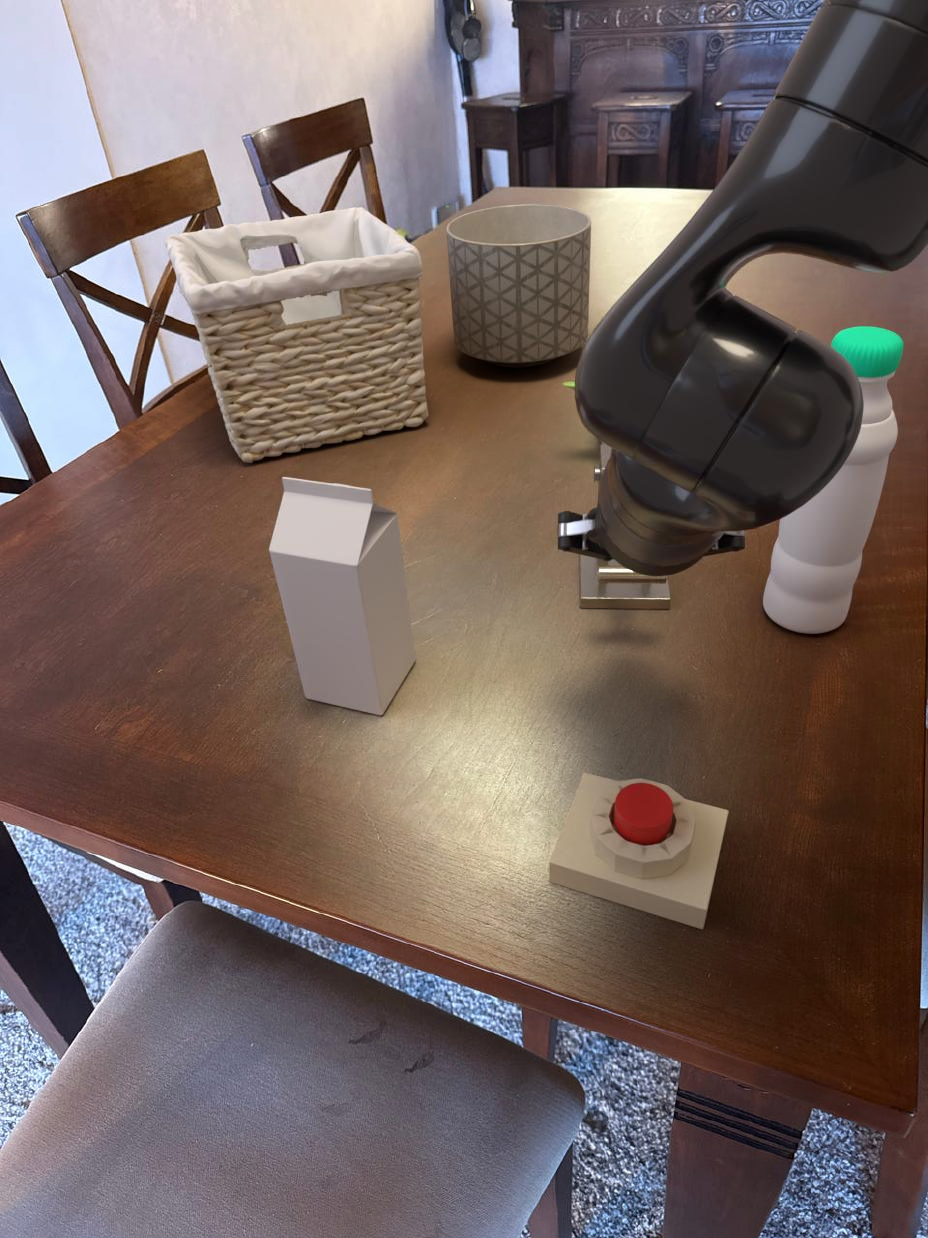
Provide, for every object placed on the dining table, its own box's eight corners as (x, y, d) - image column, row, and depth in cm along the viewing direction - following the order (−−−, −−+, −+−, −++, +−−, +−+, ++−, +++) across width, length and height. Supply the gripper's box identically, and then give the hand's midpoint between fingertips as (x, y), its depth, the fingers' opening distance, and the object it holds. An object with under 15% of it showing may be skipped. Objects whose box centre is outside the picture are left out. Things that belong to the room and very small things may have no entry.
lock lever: (664, 589, 71) (668, 575, 69) (597, 588, 72) (598, 574, 70) (659, 469, 77) (662, 452, 74) (596, 469, 77) (597, 453, 75)
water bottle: (862, 616, 75) (946, 335, 60) (809, 648, 73) (882, 362, 57) (797, 578, 80) (858, 309, 64) (744, 608, 77) (795, 333, 62)
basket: (202, 388, 123) (159, 226, 109) (383, 353, 129) (364, 195, 115) (229, 474, 102) (180, 288, 89) (442, 427, 109) (427, 246, 95)
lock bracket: (669, 609, 78) (683, 485, 70) (580, 608, 79) (584, 486, 71) (660, 546, 86) (672, 428, 77) (579, 546, 86) (582, 429, 78)
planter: (470, 392, 116) (462, 251, 105) (444, 341, 131) (434, 213, 119) (605, 372, 118) (611, 232, 107) (564, 325, 133) (566, 197, 122)
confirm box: (548, 882, 57) (548, 845, 54) (583, 792, 62) (584, 754, 60) (703, 930, 53) (710, 893, 51) (724, 830, 59) (732, 792, 56)
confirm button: (607, 835, 55) (608, 818, 54) (621, 794, 57) (623, 776, 56) (664, 852, 54) (666, 834, 53) (676, 808, 56) (678, 790, 55)
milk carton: (383, 717, 69) (348, 516, 57) (305, 699, 72) (256, 502, 60) (417, 661, 74) (391, 465, 62) (343, 646, 77) (305, 454, 65)
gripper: (783, 434, 49) (726, 505, 66) (549, 438, 51) (553, 506, 68) (785, 565, 48) (727, 603, 65) (548, 565, 50) (552, 601, 67)
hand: (638, 554), depth 66 cm, fingers closed
